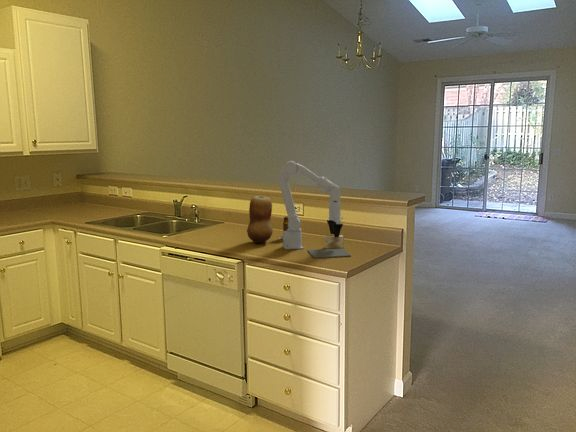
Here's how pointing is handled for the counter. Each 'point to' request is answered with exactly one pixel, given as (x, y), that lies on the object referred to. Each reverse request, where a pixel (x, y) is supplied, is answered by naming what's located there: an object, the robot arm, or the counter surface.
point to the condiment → (285, 225)
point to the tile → (334, 242)
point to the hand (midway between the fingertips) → (334, 235)
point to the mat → (329, 253)
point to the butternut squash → (260, 219)
